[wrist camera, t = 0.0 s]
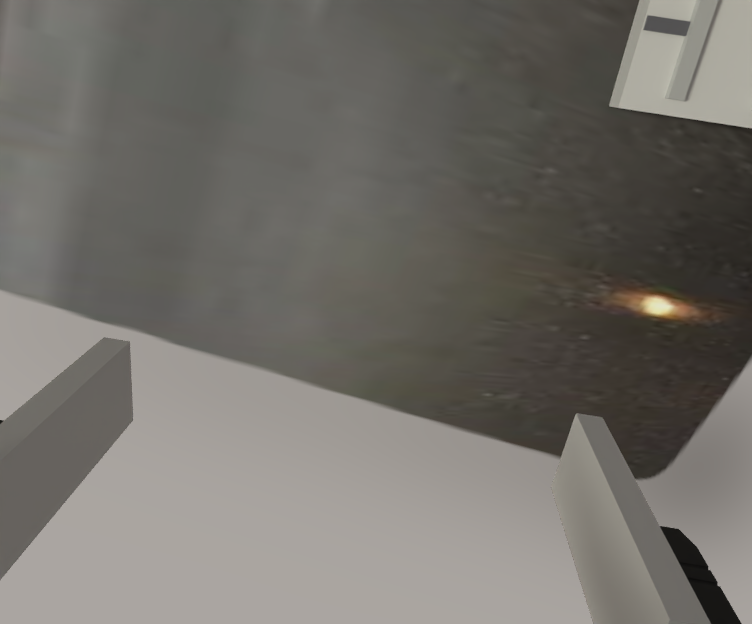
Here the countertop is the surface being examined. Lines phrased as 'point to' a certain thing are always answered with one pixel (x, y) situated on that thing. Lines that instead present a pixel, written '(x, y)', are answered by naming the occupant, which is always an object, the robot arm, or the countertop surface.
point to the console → (689, 61)
